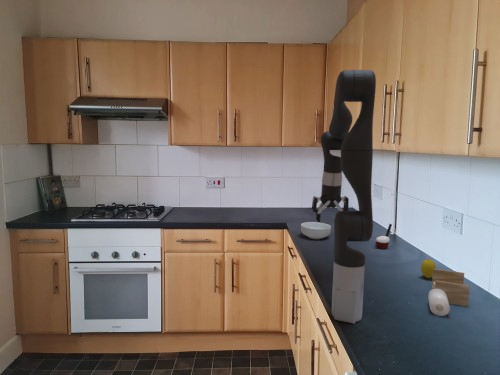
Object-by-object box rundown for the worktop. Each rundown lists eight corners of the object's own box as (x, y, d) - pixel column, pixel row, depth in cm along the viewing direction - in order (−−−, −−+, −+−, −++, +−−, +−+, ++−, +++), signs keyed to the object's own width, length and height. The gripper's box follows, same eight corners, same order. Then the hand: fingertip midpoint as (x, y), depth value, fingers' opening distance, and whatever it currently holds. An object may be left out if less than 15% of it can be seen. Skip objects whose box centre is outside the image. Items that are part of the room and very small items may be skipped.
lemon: (437, 281, 140) (439, 261, 139) (422, 280, 141) (423, 260, 140) (432, 276, 146) (434, 257, 144) (418, 275, 146) (419, 256, 145)
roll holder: (467, 306, 119) (469, 286, 118) (434, 300, 123) (435, 281, 122) (462, 291, 131) (463, 272, 130) (431, 286, 135) (433, 268, 134)
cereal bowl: (322, 243, 189) (322, 230, 188) (294, 238, 199) (295, 225, 198) (335, 236, 203) (336, 224, 202) (309, 231, 213) (309, 220, 212)
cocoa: (376, 250, 180) (376, 227, 178) (371, 246, 186) (372, 224, 184) (394, 249, 180) (395, 226, 178) (389, 245, 186) (390, 223, 184)
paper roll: (446, 319, 112) (452, 303, 111) (427, 311, 114) (433, 296, 113) (443, 307, 120) (449, 292, 119) (425, 300, 122) (431, 285, 121)
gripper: (316, 185, 136) (313, 225, 140) (352, 185, 137) (349, 224, 141) (311, 180, 143) (309, 218, 148) (346, 180, 144) (343, 218, 148)
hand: (329, 221), depth 144 cm, fingers open, 8 cm apart
